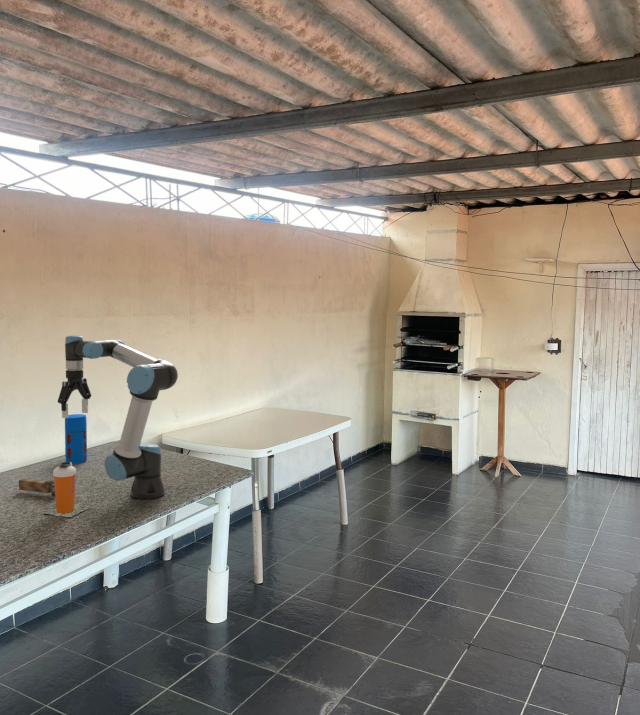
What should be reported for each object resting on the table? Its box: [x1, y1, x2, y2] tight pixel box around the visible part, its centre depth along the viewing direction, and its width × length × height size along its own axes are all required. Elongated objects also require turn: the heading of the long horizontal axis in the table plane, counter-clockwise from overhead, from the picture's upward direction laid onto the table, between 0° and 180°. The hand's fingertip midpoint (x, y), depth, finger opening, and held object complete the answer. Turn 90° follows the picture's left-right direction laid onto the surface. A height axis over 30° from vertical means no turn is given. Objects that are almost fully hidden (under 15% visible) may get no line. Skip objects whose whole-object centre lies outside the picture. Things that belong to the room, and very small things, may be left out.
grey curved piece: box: [47, 484, 55, 500], centre depth 284 cm, size 6×6×5 cm
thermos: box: [64, 413, 88, 465], centre depth 343 cm, size 11×11×25 cm
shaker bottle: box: [52, 461, 77, 514], centre depth 263 cm, size 9×9×20 cm
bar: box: [18, 478, 54, 495], centre depth 286 cm, size 21×5×6 cm, turn 73°
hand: (75, 415), depth 293 cm, fingers open, 13 cm apart
